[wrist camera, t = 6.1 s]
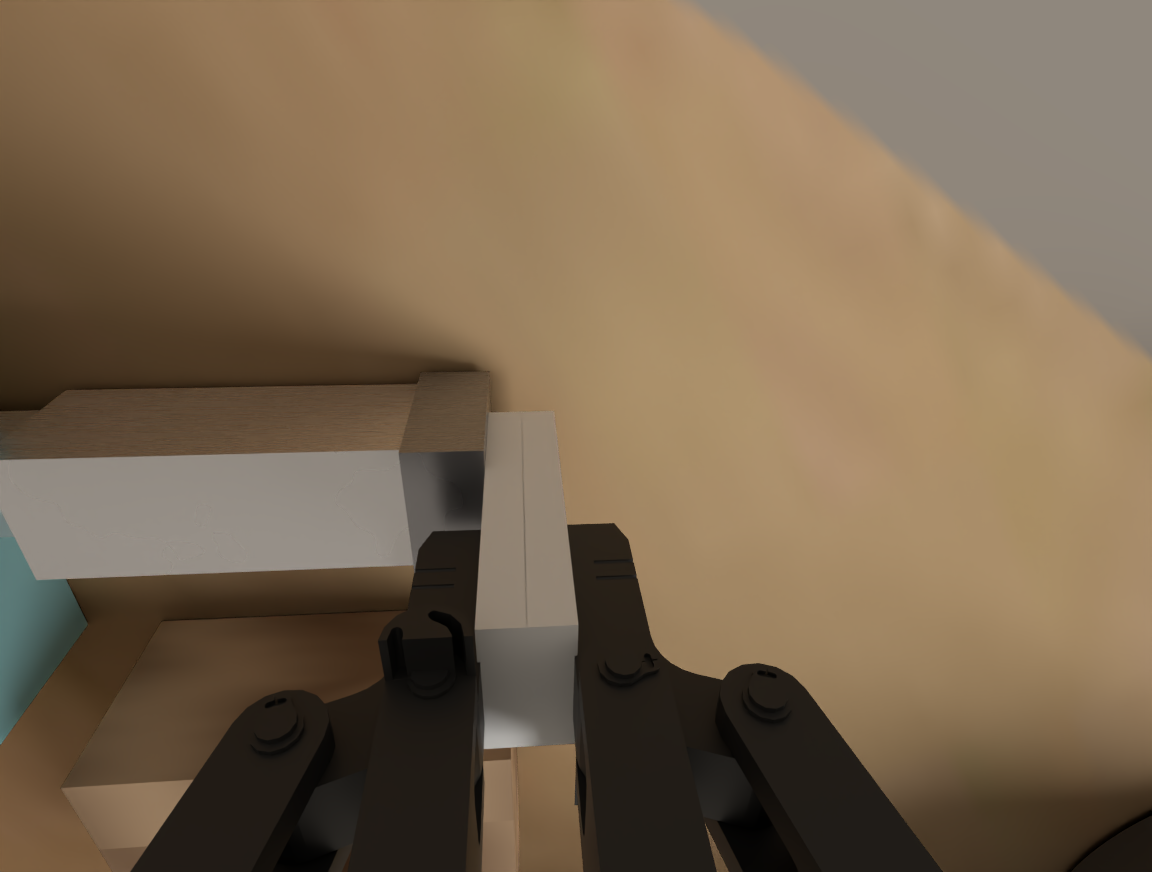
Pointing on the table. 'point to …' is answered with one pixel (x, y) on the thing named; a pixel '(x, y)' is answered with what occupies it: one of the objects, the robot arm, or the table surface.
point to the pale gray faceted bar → (242, 476)
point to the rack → (215, 700)
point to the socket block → (30, 631)
